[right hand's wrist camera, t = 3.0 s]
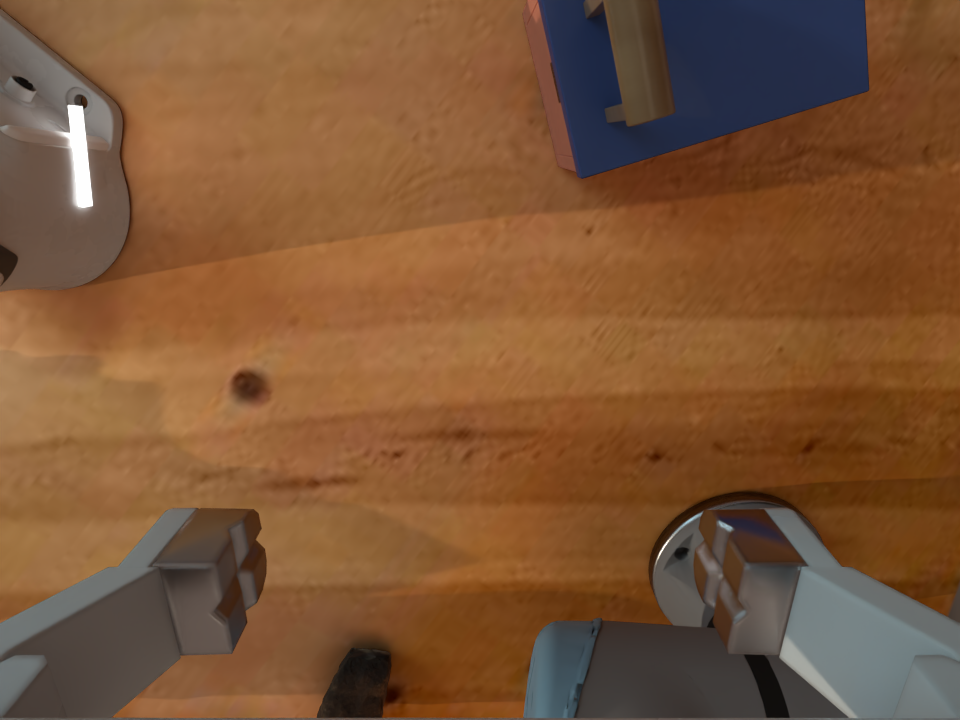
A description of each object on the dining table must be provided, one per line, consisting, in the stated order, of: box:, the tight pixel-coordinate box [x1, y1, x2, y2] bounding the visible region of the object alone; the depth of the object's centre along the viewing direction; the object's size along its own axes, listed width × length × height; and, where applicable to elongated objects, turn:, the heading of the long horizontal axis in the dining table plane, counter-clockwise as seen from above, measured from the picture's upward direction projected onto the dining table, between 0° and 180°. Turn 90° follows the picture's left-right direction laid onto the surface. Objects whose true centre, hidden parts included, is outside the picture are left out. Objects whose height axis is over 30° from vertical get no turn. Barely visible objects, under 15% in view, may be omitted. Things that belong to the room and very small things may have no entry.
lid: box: [538, 0, 869, 179], centre depth 24 cm, size 14×10×8 cm
